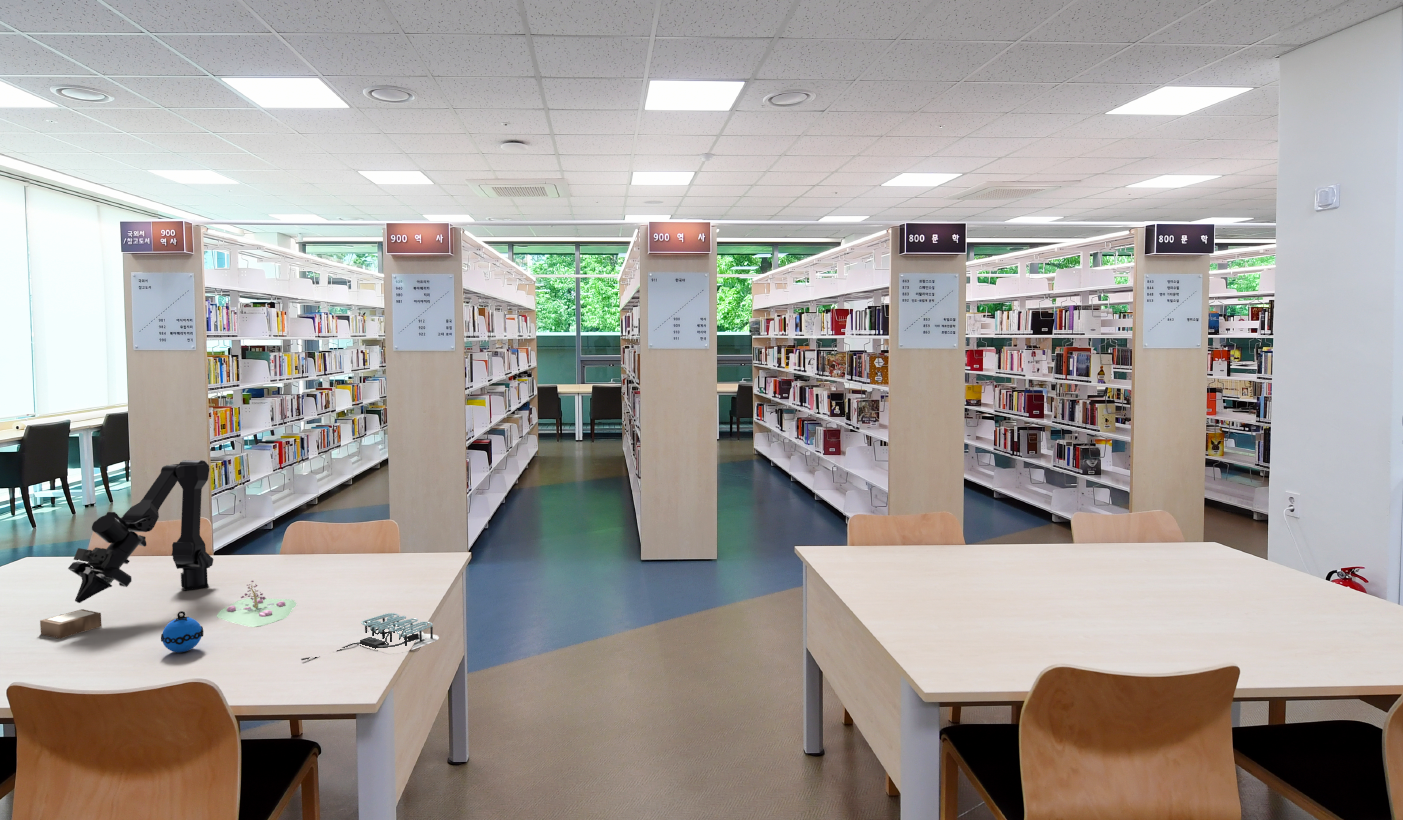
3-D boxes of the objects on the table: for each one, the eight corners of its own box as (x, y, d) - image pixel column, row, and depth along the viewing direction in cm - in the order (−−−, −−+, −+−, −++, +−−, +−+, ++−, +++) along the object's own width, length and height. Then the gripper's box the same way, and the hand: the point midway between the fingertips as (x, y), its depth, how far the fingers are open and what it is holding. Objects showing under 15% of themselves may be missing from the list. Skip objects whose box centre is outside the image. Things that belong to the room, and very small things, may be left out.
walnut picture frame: (82, 608, 219) (40, 619, 210) (100, 612, 216) (58, 624, 207) (82, 623, 219) (40, 635, 210) (101, 627, 216) (59, 639, 207)
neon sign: (287, 642, 194) (391, 609, 219) (287, 659, 194) (392, 624, 219) (341, 660, 183) (445, 623, 208) (342, 678, 183) (445, 639, 208)
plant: (313, 616, 226) (312, 585, 225) (230, 634, 212) (229, 600, 211) (285, 597, 244) (284, 567, 243) (206, 612, 230) (205, 581, 229)
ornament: (159, 660, 193) (157, 619, 192) (165, 648, 200) (163, 608, 200) (201, 654, 196) (199, 614, 196) (205, 643, 204) (204, 604, 203)
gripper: (74, 532, 222) (30, 582, 212) (117, 538, 214) (73, 590, 205) (106, 554, 229) (65, 603, 220) (149, 560, 222) (108, 612, 213)
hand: (77, 602), depth 214 cm, fingers closed
